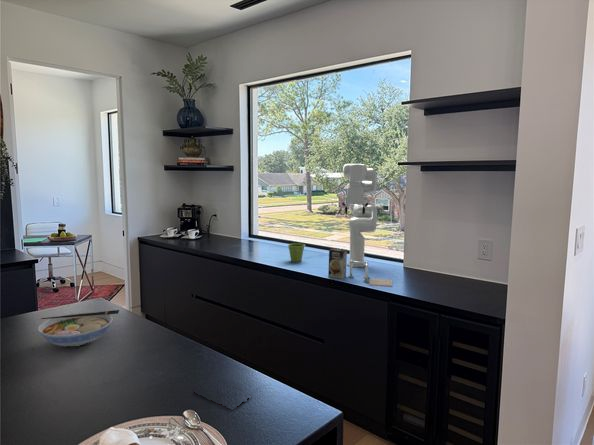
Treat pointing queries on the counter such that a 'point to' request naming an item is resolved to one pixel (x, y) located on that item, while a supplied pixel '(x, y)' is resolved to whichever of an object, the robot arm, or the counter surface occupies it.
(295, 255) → the plant pot
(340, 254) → the coffee box
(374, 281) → the tile
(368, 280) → the white arch piece
